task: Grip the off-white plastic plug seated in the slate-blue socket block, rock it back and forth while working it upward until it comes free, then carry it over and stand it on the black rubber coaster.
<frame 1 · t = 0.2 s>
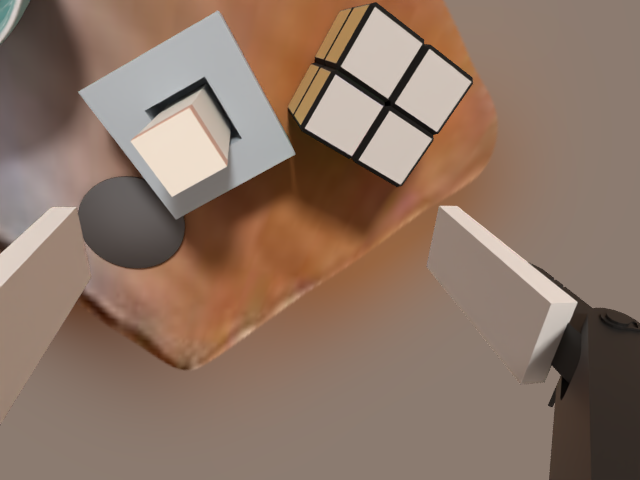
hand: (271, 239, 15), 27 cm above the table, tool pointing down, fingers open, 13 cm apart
plug: (200, 114, 37), point 1 cm above the table, touching socket block
puzzle cube: (355, 88, 40), on the table
socket block: (201, 112, 38), on the table
coaster: (133, 223, 42), on the table
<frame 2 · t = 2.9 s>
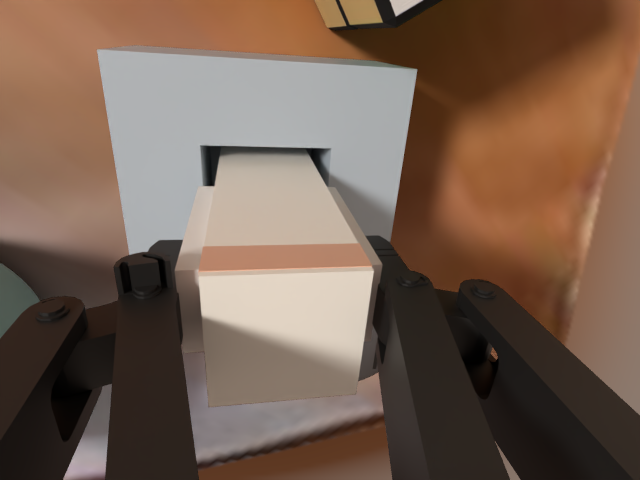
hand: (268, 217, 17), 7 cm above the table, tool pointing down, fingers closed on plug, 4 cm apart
plug: (261, 173, 22), point 1 cm above the table, touching gripper, socket block
socket block: (261, 168, 23), on the table
coaster: (344, 329, 30), on the table
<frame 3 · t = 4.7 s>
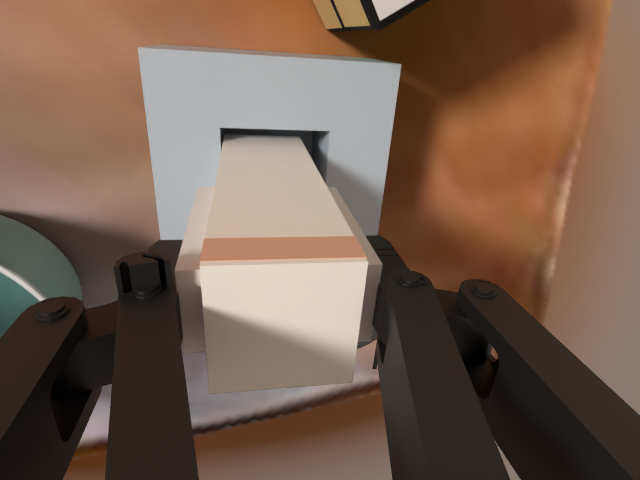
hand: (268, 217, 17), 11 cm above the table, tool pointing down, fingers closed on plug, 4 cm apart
plug: (262, 171, 23), point 4 cm above the table, touching gripper
socket block: (268, 152, 27), on the table
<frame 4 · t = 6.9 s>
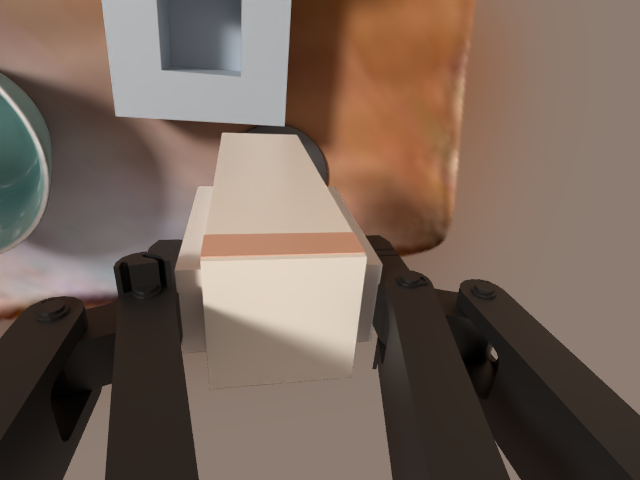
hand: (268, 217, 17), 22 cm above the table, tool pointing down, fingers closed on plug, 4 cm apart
plug: (260, 169, 23), point 15 cm above the table, touching gripper
socket block: (206, 30, 33), on the table
coaster: (274, 177, 39), on the table
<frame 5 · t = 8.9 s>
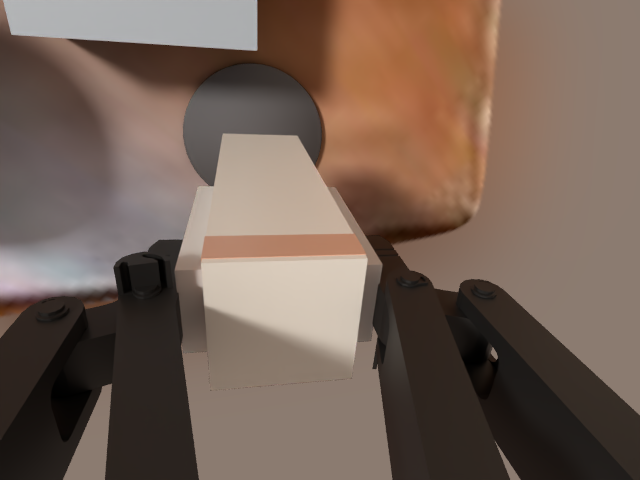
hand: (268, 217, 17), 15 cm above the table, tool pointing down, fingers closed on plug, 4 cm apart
plug: (260, 170, 23), point 8 cm above the table, touching gripper
coaster: (254, 136, 30), on the table
when the fingers open (8 cm above the table, at t = 10.8 s): plug stays where it is, resting on coaster.
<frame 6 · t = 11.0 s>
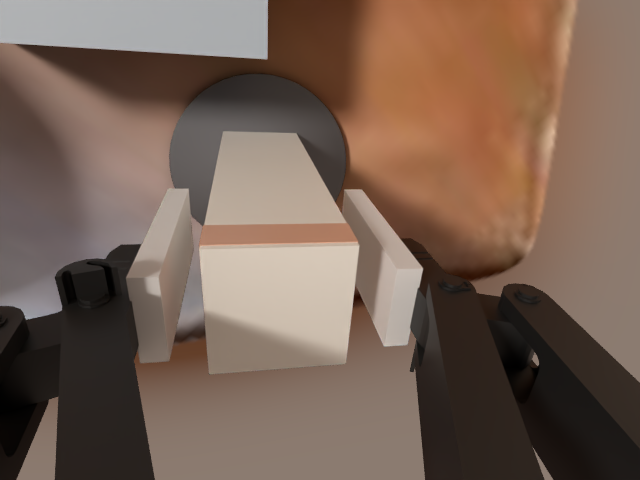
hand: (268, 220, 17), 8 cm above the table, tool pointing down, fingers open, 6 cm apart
plug: (260, 167, 23), resting on coaster
coaster: (260, 165, 24), on the table
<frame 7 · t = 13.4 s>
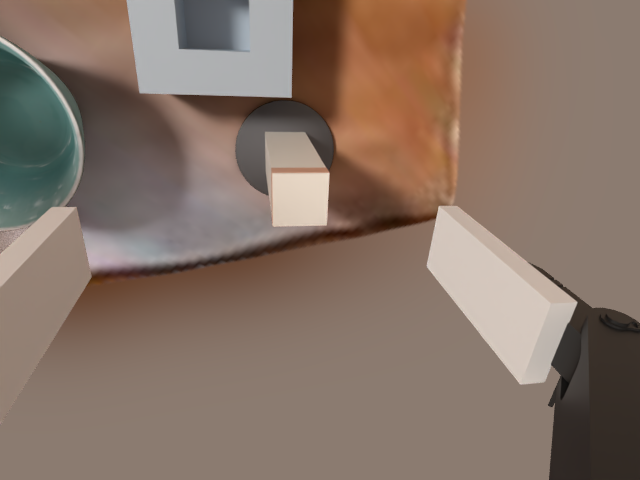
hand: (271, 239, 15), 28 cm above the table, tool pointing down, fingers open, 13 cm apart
bowl: (21, 115, 37), on the table
plug: (285, 151, 42), resting on coaster
socket block: (218, 14, 36), on the table
coaster: (285, 151, 42), on the table
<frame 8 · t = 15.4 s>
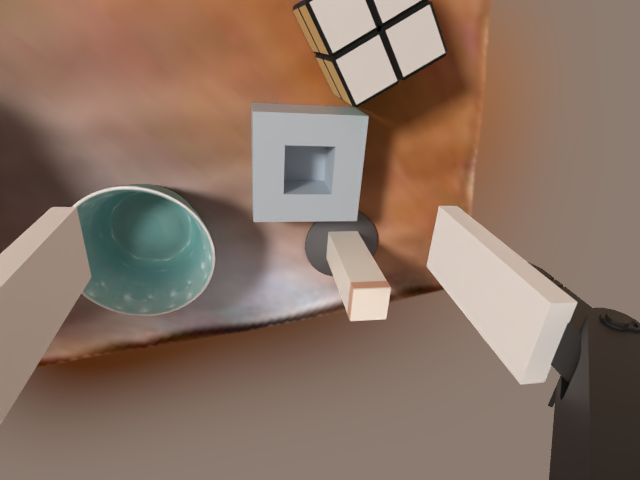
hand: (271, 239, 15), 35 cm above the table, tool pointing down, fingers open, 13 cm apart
bowl: (153, 224, 50), on the table
plug: (341, 244, 56), resting on coaster
puzzle cube: (352, 29, 45), on the table
socket block: (301, 156, 50), on the table
coaster: (341, 243, 56), on the table
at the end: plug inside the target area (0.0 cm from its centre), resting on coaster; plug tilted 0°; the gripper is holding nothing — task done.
